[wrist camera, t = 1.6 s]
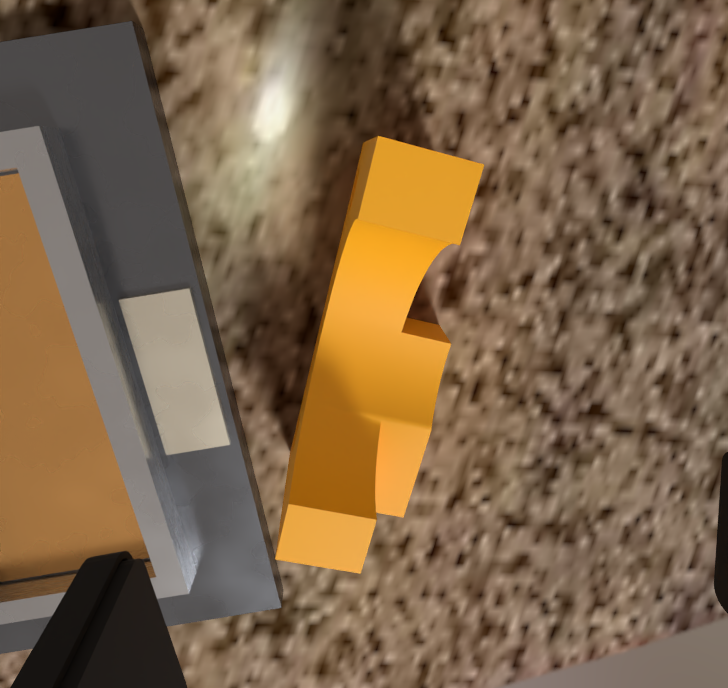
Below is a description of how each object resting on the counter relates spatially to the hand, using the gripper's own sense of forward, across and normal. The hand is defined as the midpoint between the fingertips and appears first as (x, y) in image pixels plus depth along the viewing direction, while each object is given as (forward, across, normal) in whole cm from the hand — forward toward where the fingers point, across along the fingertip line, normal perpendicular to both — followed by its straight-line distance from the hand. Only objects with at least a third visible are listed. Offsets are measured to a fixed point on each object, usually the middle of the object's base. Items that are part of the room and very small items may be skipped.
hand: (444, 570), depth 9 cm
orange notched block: (+13, 0, 0) cm, 13 cm away
